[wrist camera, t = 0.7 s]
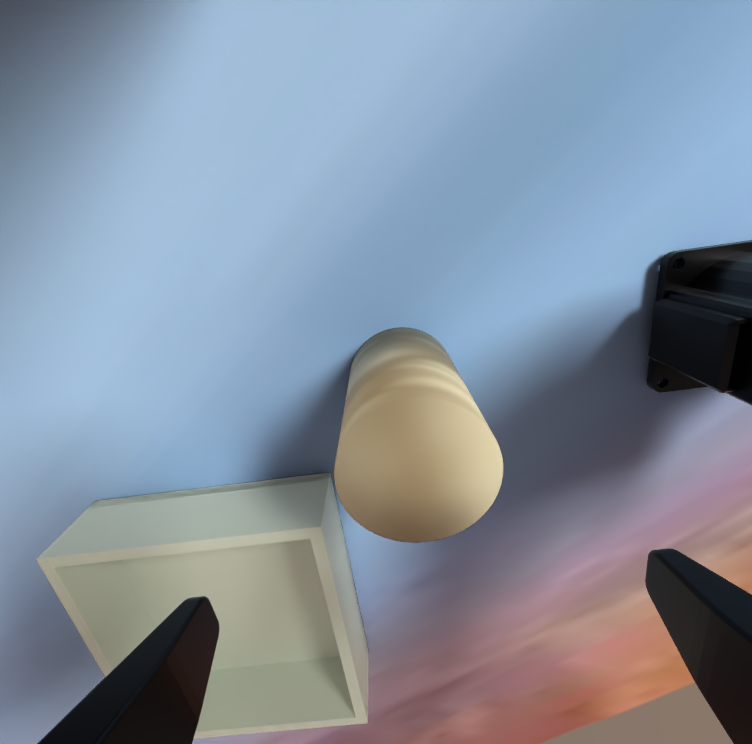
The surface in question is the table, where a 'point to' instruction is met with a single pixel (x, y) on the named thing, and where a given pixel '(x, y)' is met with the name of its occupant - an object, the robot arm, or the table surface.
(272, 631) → the bin
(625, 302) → the table surface
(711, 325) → the robot arm
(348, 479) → the beige rounded cylinder
